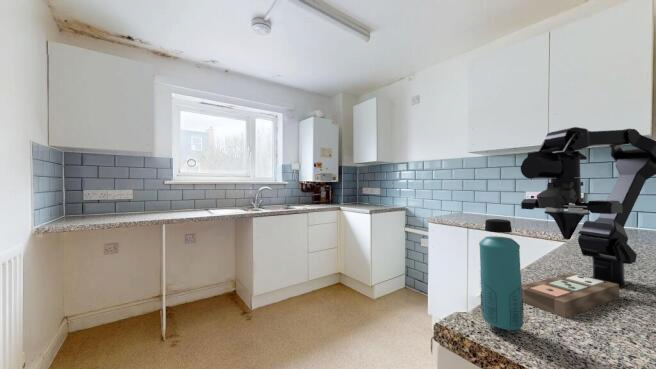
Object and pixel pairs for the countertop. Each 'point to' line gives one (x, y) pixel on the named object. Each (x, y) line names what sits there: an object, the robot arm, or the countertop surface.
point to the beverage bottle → (501, 278)
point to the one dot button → (550, 291)
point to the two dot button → (585, 280)
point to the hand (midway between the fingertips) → (567, 239)
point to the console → (569, 296)
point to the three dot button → (568, 285)
